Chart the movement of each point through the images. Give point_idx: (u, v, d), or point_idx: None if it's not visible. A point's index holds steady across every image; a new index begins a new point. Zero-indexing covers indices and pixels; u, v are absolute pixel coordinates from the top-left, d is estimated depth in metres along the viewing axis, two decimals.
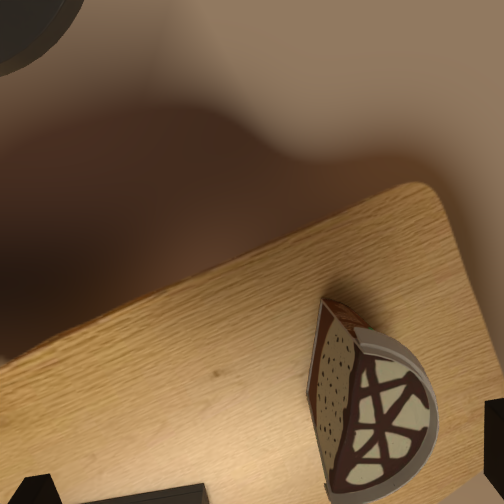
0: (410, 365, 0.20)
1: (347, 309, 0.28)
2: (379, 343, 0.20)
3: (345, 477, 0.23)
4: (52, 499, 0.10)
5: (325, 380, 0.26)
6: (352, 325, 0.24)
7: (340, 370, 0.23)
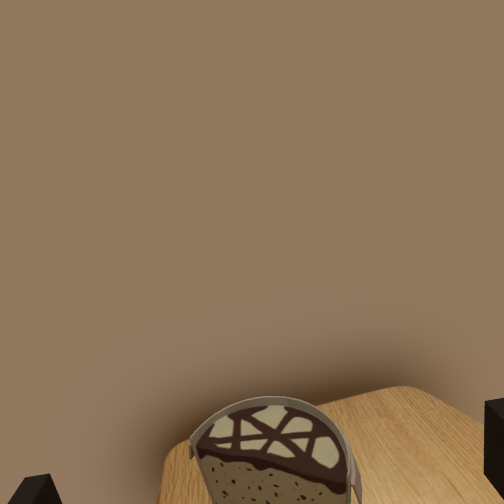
0: None
1: None
2: None
3: (326, 468, 0.22)
4: (52, 499, 0.10)
5: None
6: None
7: (238, 482, 0.25)
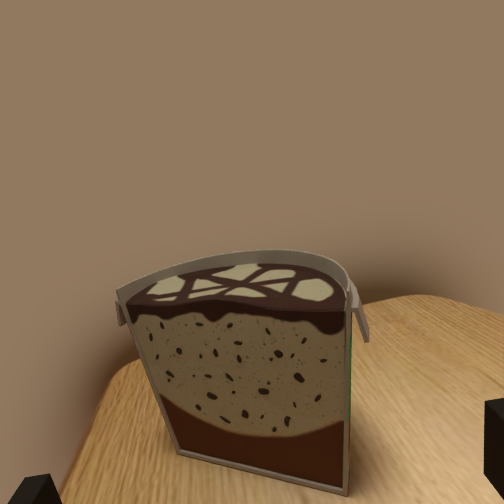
0: None
1: None
2: None
3: (314, 301, 0.14)
4: (52, 499, 0.10)
5: (242, 399, 0.16)
6: None
7: (186, 350, 0.17)
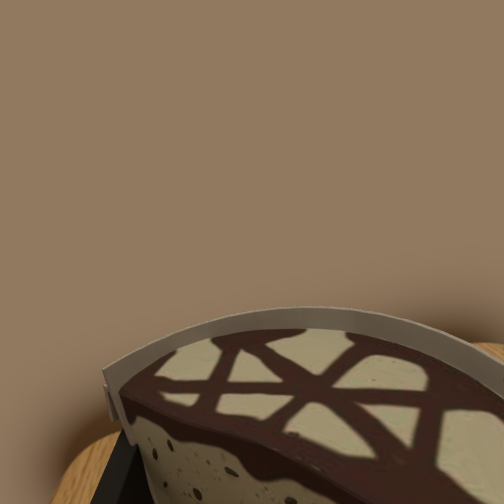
0: None
1: None
2: None
3: None
4: None
5: None
6: None
7: (209, 499, 0.09)
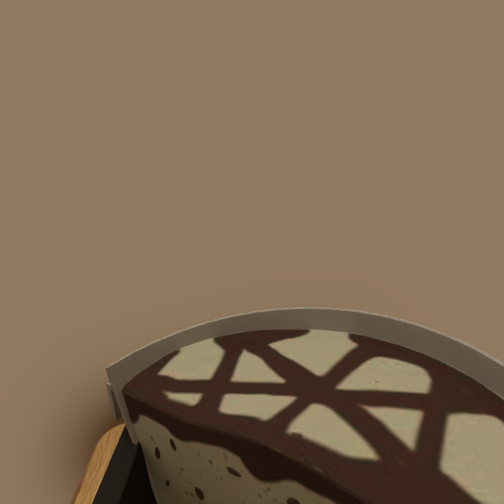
0: None
1: None
2: None
3: None
4: None
5: None
6: None
7: (210, 498, 0.09)
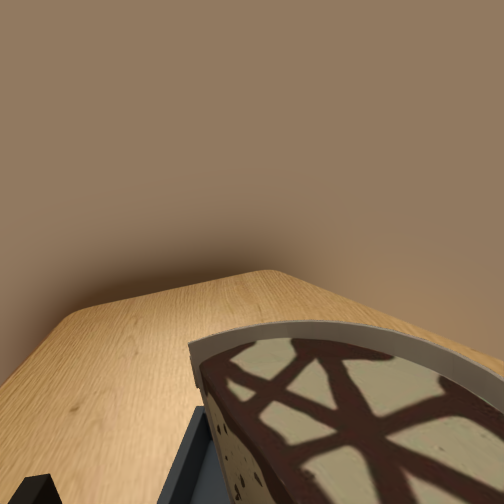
0: None
1: None
2: None
3: None
4: (52, 499, 0.10)
5: None
6: None
7: (248, 490, 0.10)
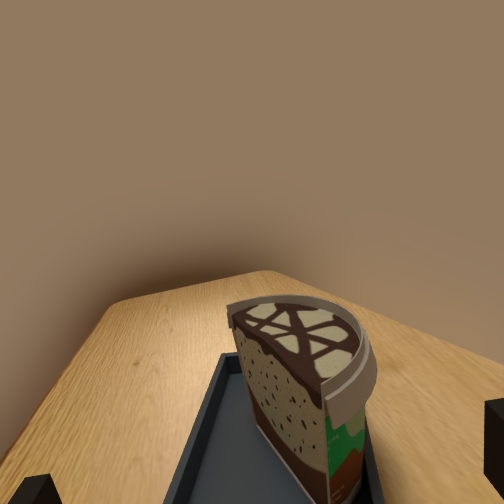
0: None
1: None
2: None
3: (317, 375, 0.17)
4: (52, 499, 0.10)
5: (279, 416, 0.22)
6: None
7: (255, 363, 0.23)
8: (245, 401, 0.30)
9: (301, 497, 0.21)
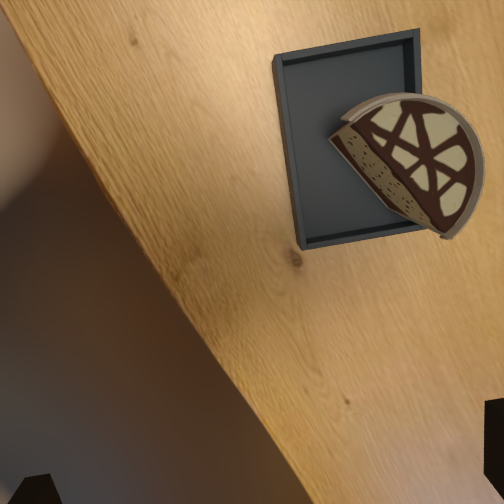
0: (396, 98, 0.23)
1: None
2: (362, 107, 0.24)
3: (442, 214, 0.26)
4: (52, 499, 0.10)
5: (377, 178, 0.30)
6: (347, 123, 0.27)
7: (368, 157, 0.27)
8: (310, 110, 0.32)
9: (369, 192, 0.34)
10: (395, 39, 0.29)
